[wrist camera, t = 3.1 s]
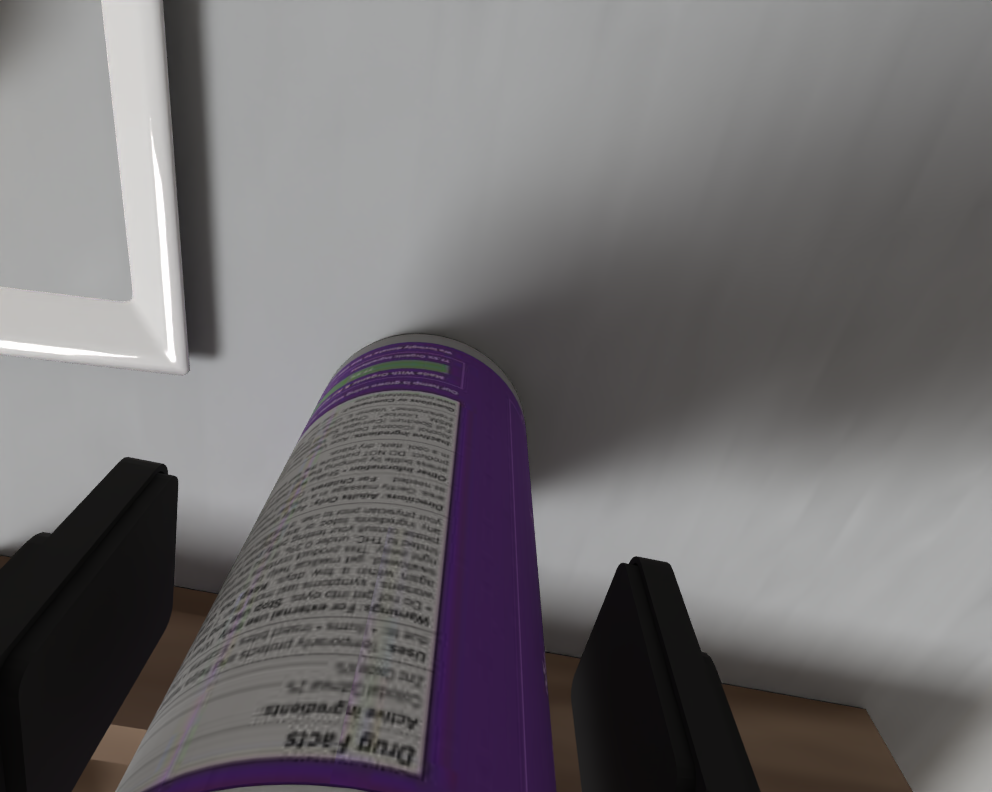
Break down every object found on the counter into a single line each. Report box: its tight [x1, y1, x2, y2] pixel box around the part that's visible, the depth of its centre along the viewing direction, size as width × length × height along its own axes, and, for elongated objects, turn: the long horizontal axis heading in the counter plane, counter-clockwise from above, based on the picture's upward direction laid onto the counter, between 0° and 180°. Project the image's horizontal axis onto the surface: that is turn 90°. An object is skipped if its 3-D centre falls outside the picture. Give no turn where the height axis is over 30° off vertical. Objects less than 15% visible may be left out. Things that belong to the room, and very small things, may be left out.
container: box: [115, 334, 557, 792], centre depth 9 cm, size 5×5×15 cm
